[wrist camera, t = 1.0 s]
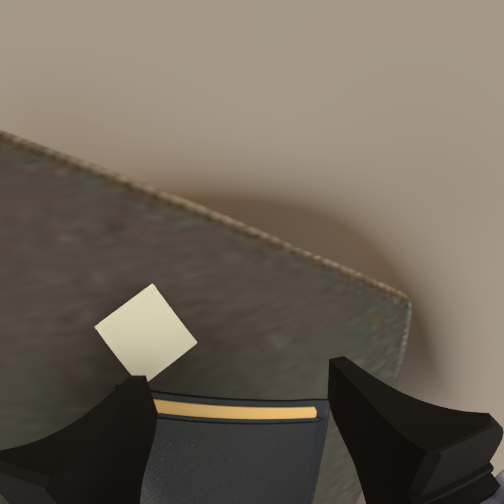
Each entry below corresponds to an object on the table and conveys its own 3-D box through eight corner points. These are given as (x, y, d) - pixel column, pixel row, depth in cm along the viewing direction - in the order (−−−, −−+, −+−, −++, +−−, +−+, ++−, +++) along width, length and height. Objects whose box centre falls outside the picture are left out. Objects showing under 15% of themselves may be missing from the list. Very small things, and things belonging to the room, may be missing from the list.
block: (139, 371, 22) (141, 387, 17) (104, 324, 22) (94, 326, 16) (183, 337, 24) (197, 342, 19) (148, 291, 24) (152, 283, 18)
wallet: (108, 530, 16) (115, 379, 20) (108, 519, 18) (116, 375, 22) (312, 527, 22) (342, 401, 26) (303, 519, 24) (331, 397, 28)
